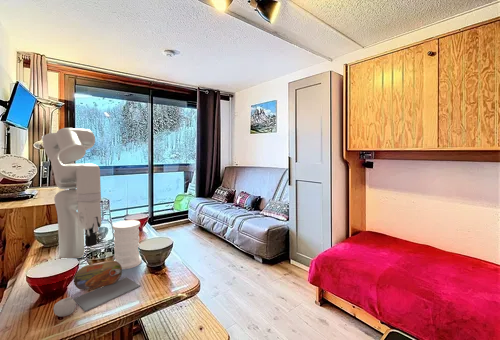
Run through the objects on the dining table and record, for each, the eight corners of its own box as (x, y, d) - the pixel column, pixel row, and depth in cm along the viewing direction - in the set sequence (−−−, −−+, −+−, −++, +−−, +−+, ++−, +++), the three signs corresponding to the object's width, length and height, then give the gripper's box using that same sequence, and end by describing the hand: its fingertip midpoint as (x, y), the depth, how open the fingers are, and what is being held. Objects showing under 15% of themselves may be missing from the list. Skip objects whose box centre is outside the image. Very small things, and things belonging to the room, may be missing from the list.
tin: (74, 293, 85) (72, 269, 85) (75, 289, 88) (74, 266, 88) (122, 282, 92) (121, 260, 92) (122, 278, 95) (121, 257, 95)
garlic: (81, 308, 78) (80, 292, 77) (69, 320, 72) (68, 303, 72) (62, 308, 77) (61, 292, 77) (48, 320, 72) (47, 303, 72)
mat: (73, 299, 82) (73, 298, 82) (126, 277, 96) (126, 276, 96) (85, 311, 76) (85, 310, 76) (140, 286, 90) (140, 285, 90)
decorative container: (142, 256, 116) (141, 219, 115) (141, 267, 105) (140, 226, 104) (114, 259, 112) (113, 221, 110) (110, 271, 101) (109, 229, 100)
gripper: (70, 196, 93) (72, 243, 94) (86, 201, 84) (88, 253, 85) (91, 194, 99) (93, 238, 100) (109, 198, 90) (110, 246, 91)
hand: (91, 245), depth 93 cm, fingers closed
